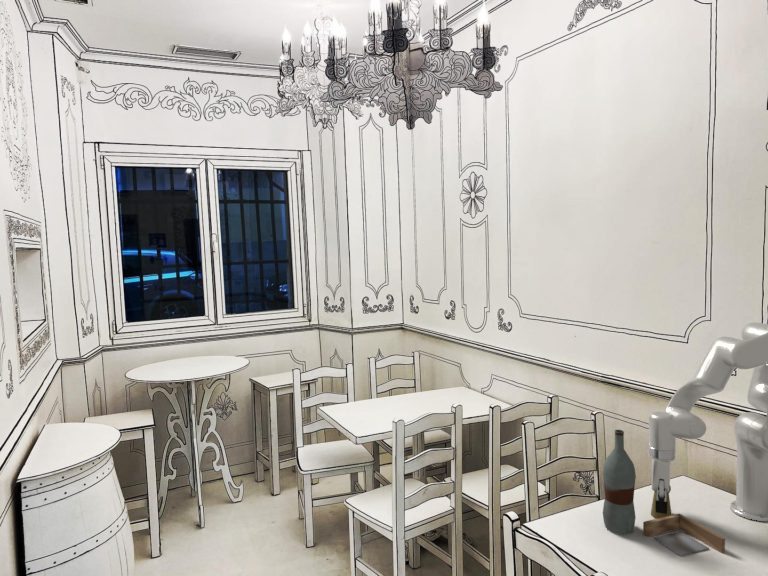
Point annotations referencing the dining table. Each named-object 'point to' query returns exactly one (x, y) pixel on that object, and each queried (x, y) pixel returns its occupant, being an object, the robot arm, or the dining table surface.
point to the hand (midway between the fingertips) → (661, 507)
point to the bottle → (619, 489)
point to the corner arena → (683, 535)
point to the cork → (653, 510)
